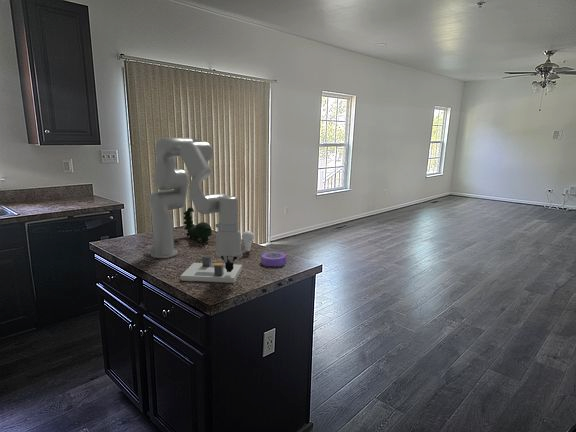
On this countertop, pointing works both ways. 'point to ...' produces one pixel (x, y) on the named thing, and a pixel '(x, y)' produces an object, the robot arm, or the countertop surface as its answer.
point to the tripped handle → (218, 269)
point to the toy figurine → (196, 228)
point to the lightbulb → (247, 239)
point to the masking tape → (273, 259)
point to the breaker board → (210, 273)
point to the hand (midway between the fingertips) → (229, 270)
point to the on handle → (206, 260)
